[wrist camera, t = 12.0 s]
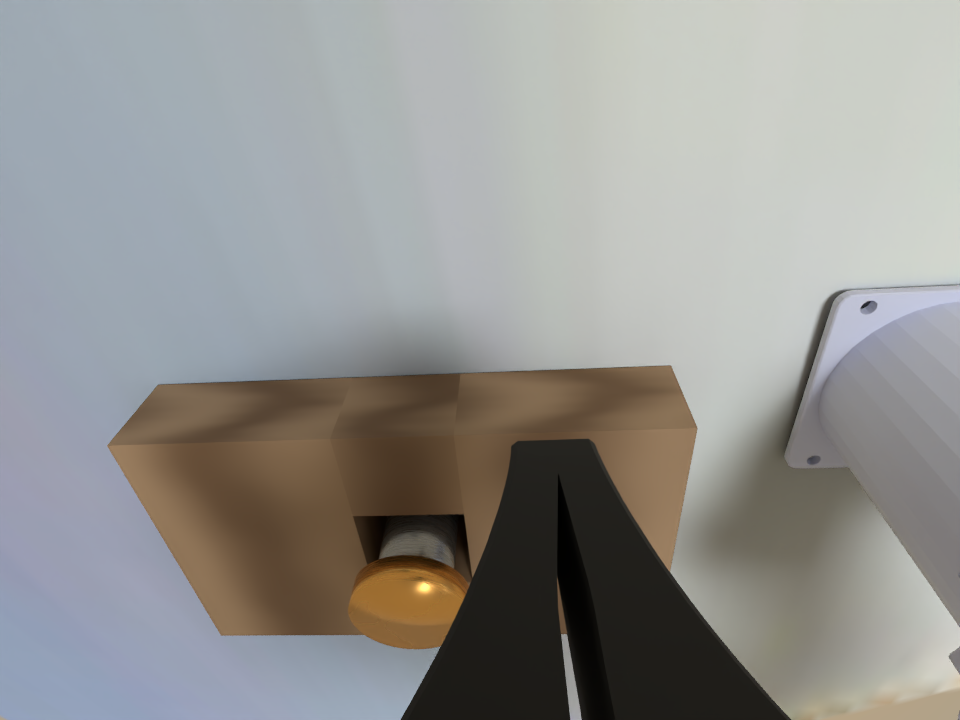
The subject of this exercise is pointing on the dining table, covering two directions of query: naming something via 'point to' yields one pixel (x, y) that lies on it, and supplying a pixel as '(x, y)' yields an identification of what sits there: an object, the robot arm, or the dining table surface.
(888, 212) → the dining table surface
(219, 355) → the dining table surface
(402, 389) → the hitch block
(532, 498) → the robot arm
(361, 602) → the pin
